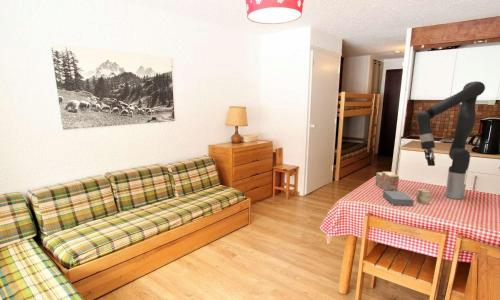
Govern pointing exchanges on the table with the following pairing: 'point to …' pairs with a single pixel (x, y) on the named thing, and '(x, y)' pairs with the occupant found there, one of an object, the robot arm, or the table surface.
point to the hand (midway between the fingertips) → (431, 165)
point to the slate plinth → (398, 198)
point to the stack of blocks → (387, 181)
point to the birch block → (423, 196)
